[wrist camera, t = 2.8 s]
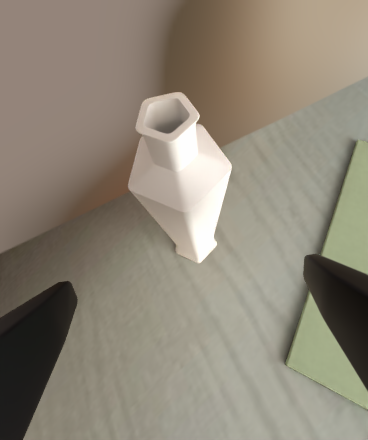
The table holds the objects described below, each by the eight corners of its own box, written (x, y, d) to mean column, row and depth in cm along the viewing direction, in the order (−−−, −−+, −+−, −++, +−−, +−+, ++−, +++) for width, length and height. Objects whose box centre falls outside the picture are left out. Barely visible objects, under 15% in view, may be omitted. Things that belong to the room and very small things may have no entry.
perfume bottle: (193, 209, 23) (165, 50, 9) (227, 238, 21) (258, 101, 8) (159, 242, 22) (72, 122, 8) (193, 275, 21) (156, 196, 7)
